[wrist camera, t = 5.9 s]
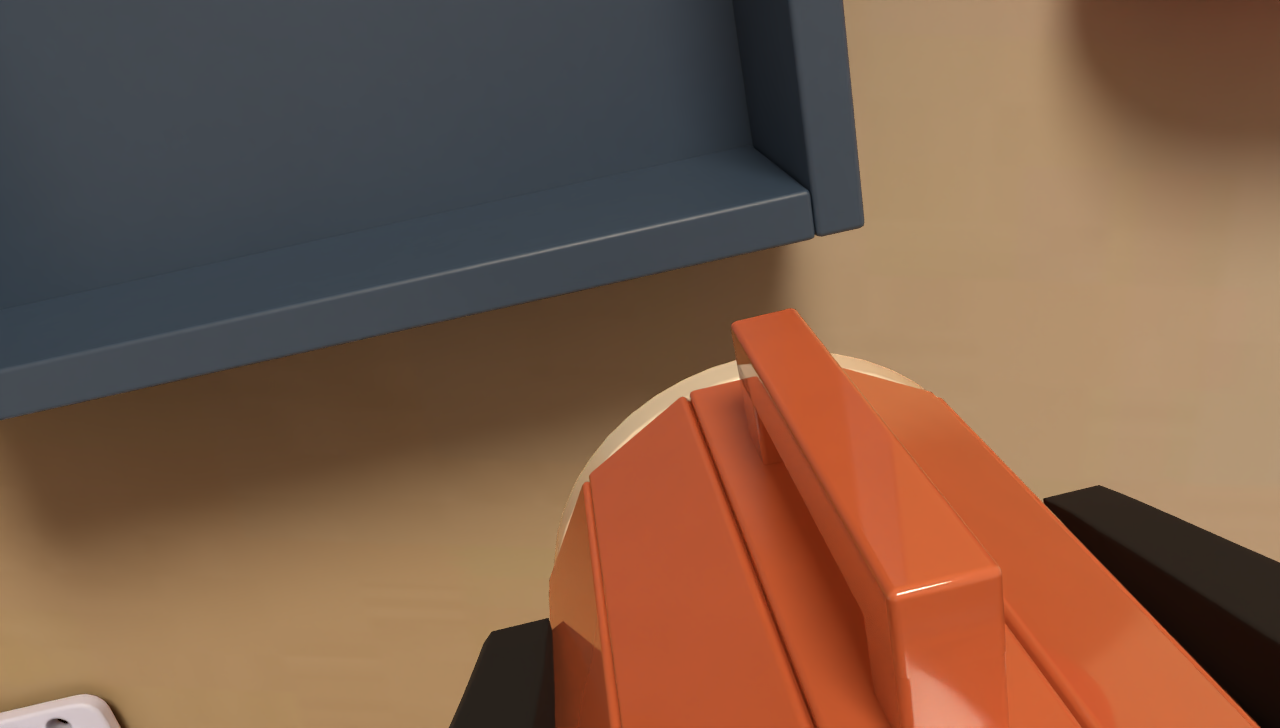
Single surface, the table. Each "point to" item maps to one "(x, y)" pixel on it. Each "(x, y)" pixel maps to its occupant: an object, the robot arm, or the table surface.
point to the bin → (385, 167)
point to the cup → (839, 569)
